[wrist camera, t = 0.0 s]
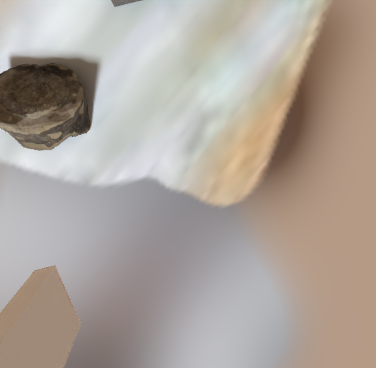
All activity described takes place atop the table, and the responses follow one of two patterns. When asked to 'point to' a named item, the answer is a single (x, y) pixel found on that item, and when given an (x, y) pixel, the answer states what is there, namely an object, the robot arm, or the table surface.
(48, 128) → the fossil
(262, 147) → the table surface
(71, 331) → the robot arm
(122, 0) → the clock base
